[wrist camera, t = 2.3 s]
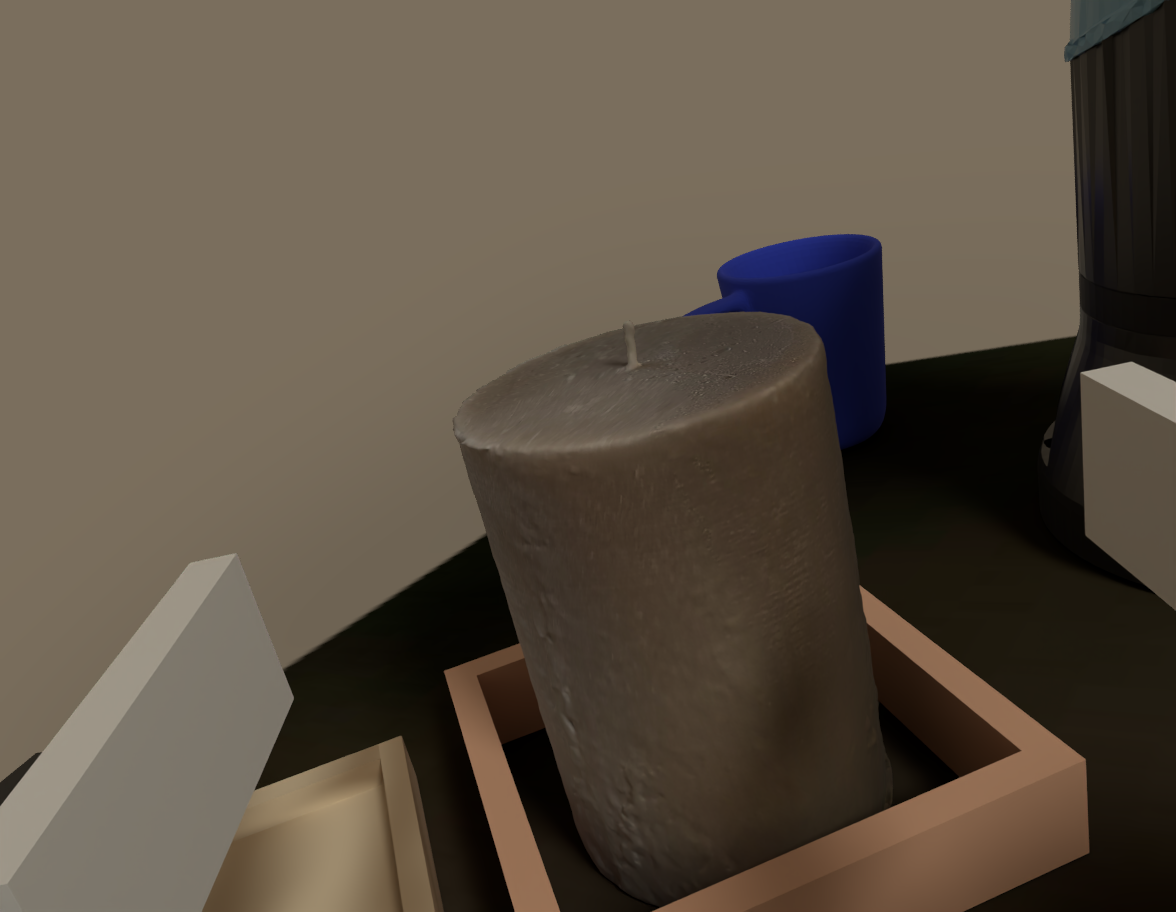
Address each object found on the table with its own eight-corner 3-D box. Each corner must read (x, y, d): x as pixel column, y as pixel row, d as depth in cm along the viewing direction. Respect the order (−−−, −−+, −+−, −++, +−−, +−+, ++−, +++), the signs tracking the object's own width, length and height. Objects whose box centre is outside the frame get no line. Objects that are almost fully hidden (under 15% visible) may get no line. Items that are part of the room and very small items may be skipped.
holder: (812, 608, 37) (801, 540, 36) (1089, 852, 24) (1085, 759, 23) (466, 739, 34) (444, 670, 33) (573, 1093, 21) (541, 1001, 20)
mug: (663, 475, 52) (625, 298, 48) (820, 397, 57) (797, 232, 53) (766, 513, 45) (731, 310, 41) (935, 421, 50) (916, 233, 47)
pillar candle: (956, 754, 28) (899, 259, 23) (754, 991, 23) (617, 410, 17) (709, 661, 35) (623, 268, 30) (509, 824, 30) (360, 377, 25)
